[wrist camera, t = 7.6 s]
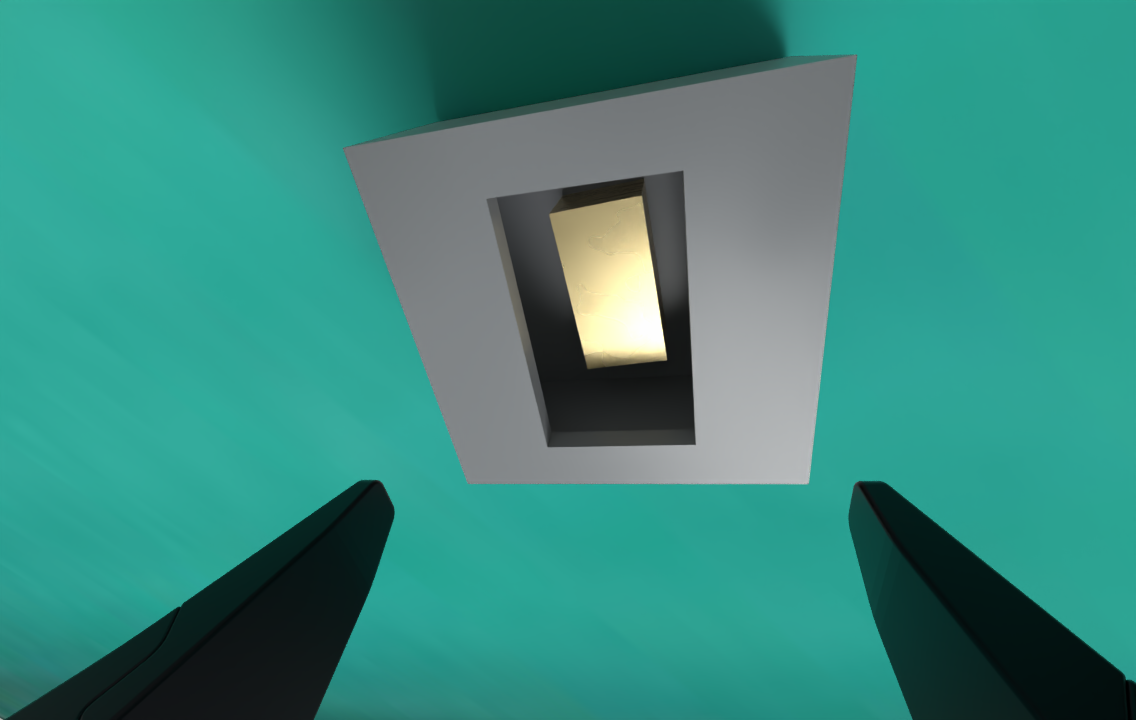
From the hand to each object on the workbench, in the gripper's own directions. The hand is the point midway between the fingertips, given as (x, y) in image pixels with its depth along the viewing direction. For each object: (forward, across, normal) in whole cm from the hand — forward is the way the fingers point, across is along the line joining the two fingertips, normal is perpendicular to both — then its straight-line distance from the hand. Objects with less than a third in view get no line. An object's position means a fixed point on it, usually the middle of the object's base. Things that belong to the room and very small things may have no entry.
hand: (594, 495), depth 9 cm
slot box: (+12, 0, 0) cm, 12 cm away
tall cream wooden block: (+12, 0, 0) cm, 12 cm away
